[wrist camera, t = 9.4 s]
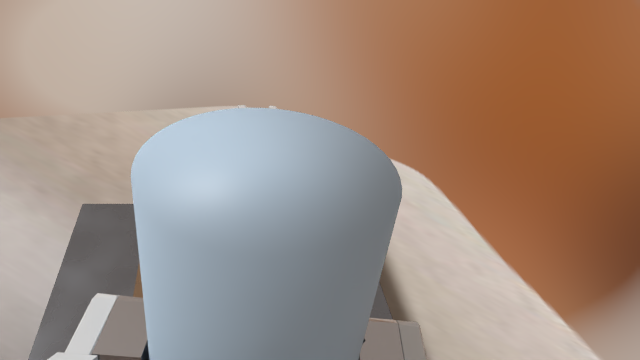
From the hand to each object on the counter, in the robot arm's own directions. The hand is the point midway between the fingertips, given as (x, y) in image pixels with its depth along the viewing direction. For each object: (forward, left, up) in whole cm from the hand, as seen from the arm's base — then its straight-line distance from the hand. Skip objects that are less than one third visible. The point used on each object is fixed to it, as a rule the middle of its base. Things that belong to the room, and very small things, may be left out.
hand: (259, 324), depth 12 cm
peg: (0, -1, -6) cm, 6 cm away
